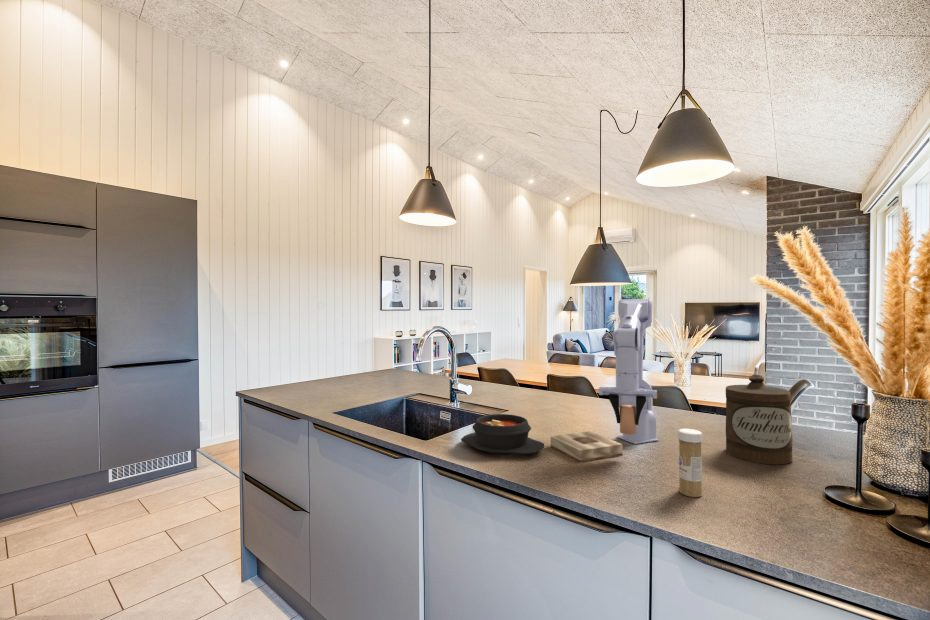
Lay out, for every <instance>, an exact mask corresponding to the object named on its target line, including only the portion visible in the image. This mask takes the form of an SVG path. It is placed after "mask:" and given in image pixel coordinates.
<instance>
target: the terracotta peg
mask: <svg viewBox="0 0 930 620" xmlns="http://www.w3.org/2000/svg"><path fill="white" fill-rule="evenodd" d="M619 412H620V423H619V433H620V434H621V435H623V434H628V435H633V434H636V424H635V420H636V407H635V406H632V405H620V408H619Z"/></svg>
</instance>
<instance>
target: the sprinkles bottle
mask: <svg viewBox="0 0 930 620" xmlns="http://www.w3.org/2000/svg"><path fill="white" fill-rule="evenodd" d="M677 438H678V441H679V442H678V443H679V444H678V447H679V452H678V453H679V455H678V476H679V487H678V491H679V492H680V494H682V495H684V496H687V497H691V498H693V497H694V498H699V497H701V496H703V490H702V489H703V488H702V486H703V485H702V484H703V482H702V480H703V458H702V457H703V455H702V442H703V433H702V432H701V431H700V430H697V429H693V428H679V429H678V430H677Z"/></svg>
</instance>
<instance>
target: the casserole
mask: <svg viewBox="0 0 930 620" xmlns="http://www.w3.org/2000/svg"><path fill="white" fill-rule="evenodd" d="M472 429H473V431H474V432H471V433H468V434H465V435H464V436H463V437H461V439H460V440H461V442H462V443H464V444H467V445H470V446H471V447H473V448H475V449H477V450H479V451H483V452H487V453H490V454H493V453H494V454H495V455H512V454H516V455H517V454H519V455H529V454H535V453H537V452H539V451H542V450H543V449H544V448H545V443H544V442H542V441H539V440H537V439H533V438H531V437H529V433H530V431H531V430H532V427H531V425H529V421H528V419H527V418H525V417H523V416H519V415H515V414H509V413H508V414H507V413H506V414H505V413H493V414H486V415H481V416H478V417H477V418H476V419H475V423H474V424H473V425H472Z"/></svg>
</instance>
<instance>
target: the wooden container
mask: <svg viewBox="0 0 930 620" xmlns="http://www.w3.org/2000/svg"><path fill="white" fill-rule="evenodd" d="M748 380H749V381H750V382H749V383H747V384H731V385H726V386H725V398H726V399H725V449H726V452H727V454H729V455H730V456H733V457H734V458H736V459H740V460H744V461H748V462H752V463H757V464H764V465H786V464H787V465H788V464H791V463H792V462H793V425H792V424H793V422H792V404H791V397H792V395H791V391H790V390H788V389H785V388H780V387H774V386H767V385H766V384H765V383H764V382H765V378H764V376H762V375H761V374H756V373H755V374H752V375H749V377H748Z"/></svg>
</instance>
